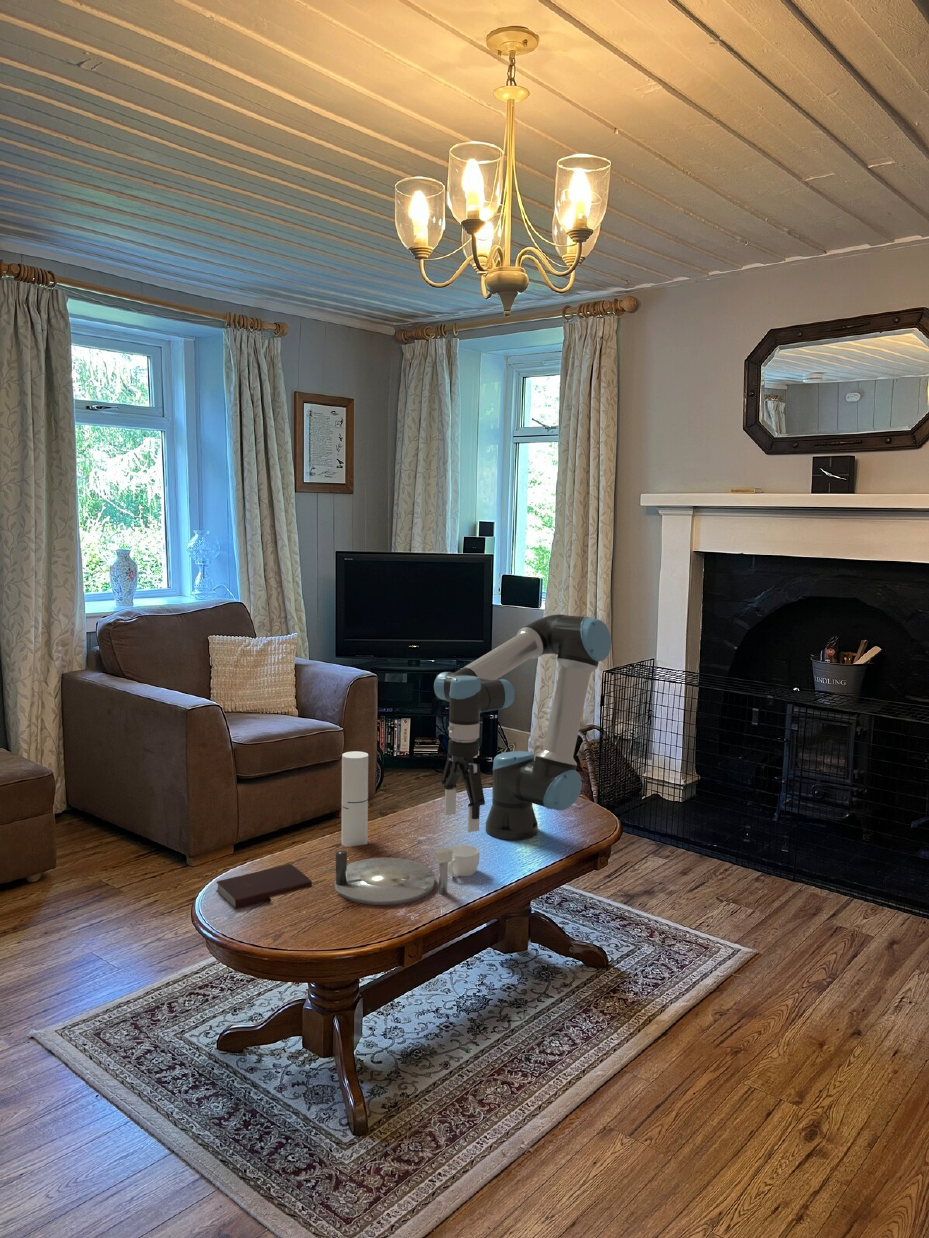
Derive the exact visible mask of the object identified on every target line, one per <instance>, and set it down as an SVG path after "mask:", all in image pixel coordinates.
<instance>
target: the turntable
mask: <svg viewBox="0 0 929 1238" xmlns="http://www.w3.org/2000/svg"><path fill="white" fill-rule="evenodd" d="M334 888H335V891H336V892H337V894H339V896H341V897H343V898H344V899H347V900H349V901H351V902H355V903H357V904H358V903H359V904H364V905H370V906H394V905H395V906H396V905H402V904H406V903H407V904H408V903H411V902H415V901H417V900H420V899H422V898H424V897H426V896H427V895H429V894H430V893H431V892H432V891H433V889H434V888H435V873H434V871H433V869H431V868H430V867H429V866H427V865H426V864H424V863H421V862H419V861H416V860H412V859H407V858H402V857H371V858H366V859H365V858H364V859H360V860H356V861H354V862H351V863H349V864H348V851H346V850H337V851H336V852H335V876H334Z"/></svg>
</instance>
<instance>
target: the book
mask: <svg viewBox="0 0 929 1238" xmlns="http://www.w3.org/2000/svg"><path fill="white" fill-rule="evenodd" d="M215 883H216V884H217V889H216V890H215V892H216V893H219V894H220V895H221V896H222V897H223V898H224V899H225V900H226V901H228V902H229V903H230V904H231V905H232V906H233V907H234V909H235V910H238V909H242V908H245V907H249V906H253V905H256V904H261V903H265V902H269V901H272V899H271V896H275V895H279V894H284V893H287V892H291V891H296V890H299V889H303V888H307V887H311V886H313V882H312V880H311V879H310V878H309V877H308V876H307V875H306V874H304V873H303V872H302V871H301V870H299V869H298V868H297V867H296V866H294V865H293V864H290V863H289V864H282V865H278V866H275V867H270V868H268V869H263V870H259V871H255V872H251V873H246V874H243V875H238V876H234V877H233V876H232V877H229V878H225V879H220V880H217V881H216V882H215Z"/></svg>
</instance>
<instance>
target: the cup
mask: <svg viewBox="0 0 929 1238" xmlns="http://www.w3.org/2000/svg"><path fill="white" fill-rule="evenodd" d="M450 849H451V850H452V862H448V873H449V875H450V876H451V877H453V878H458V877H471V876H473V875H474V874H475V873H476V871H477V870H478V867H479V863H480V850H479V849H480V848H477V847H476V846H473V845H472V846H471V845H466V844H461V845H460V844H459V845H455V846H452V847H450Z"/></svg>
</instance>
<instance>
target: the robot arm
mask: <svg viewBox="0 0 929 1238" xmlns="http://www.w3.org/2000/svg"><path fill="white" fill-rule="evenodd" d="M611 647H612V636H611V633H610V631H609V627H608V626H607V624H606V623H605V622H604V621H603V620H601V619H598V618H593V617H589V616H577V615H568V614H567V615H566V614H551V615H546V616H545V617H541V618H538V619H537V620H534V621H532V622H531V623H528V624H527V625H524V626H523V627H522V628H520V629H519V630H518V631H517V633H516V635H515V636H513V637H511V638H510V639H509V640H506V641H505V642H504V643H502V644H500V645H499V646H497V647H496V648H493V649H492V650H490V651H489V652H487V653H486V654H483V655H482V656H480V657H479V658H477V659H476V660H474V661H472V662H470V663H468V664H467V665H465V666H464V667H462V668H460V669H459V670H456V671H455V672H451V671H444V672H440V673H439V674H438V675H437V676H436V678H435V680H434V683H433V689H434V694H435V696H436V697H437V698H438V699H440V700H443V701H446V702H449V716H448V717H449V721H448V723H449V725H448V727H447V730H448V737H449V740H448V749H447V750H448V751H447V754H446V762H445V766H444V769H443V773H442V776H441V779H440V780H441V782H440V783H441V785H443V787H444V791H445V792H444V815H445V816H450V815H456V808H457V807H456V806H457V783H458V781H459V779H461V781H462V782H464V786H465V790H466V794H467V797H468V800H469V802H468V804H467V807H468V811H467V832H468V833H471V832H479V831H480V814H481V813H480V810H481V806H484V805H486V801H485V795H484V789H483V783H482V778H481V766H480V763H474V757H476V756H478V755H479V752H480V751H479V749H480V747H479V746H480V740H478V739H479V738H480V725H481V724H480V723H481V722H480V719H481V716H480V715H481V714H482V713H485V712H491V711H497V710H498V711H501V710H502V709H505V708H509V707H510V706H511V705H512V704H513V703H514V701H515V692H516V691H515V688H514V686H513V684H512V683H511V682H510V681H509V680H508V679H505V678H502V679H500V678H501V677H503V676H504V675H506V674H507V673H509V672H511V671H512V670H513V669H516V668H517V667H518V666H520V665H523V663H525V662H526V661H528V660H530V659H538V658H539V657H541V656H544V655H557V656H556V661H557V662H558V664H559V667H560V669H559V675H558V679H557V683H556V687H555V692H554V697H553V702H552V705H551V711H550V716H549V721H548V725H547V729H546V734H545V739H544V742H543V748H542V750H541V751H540V752H537V753H536V755H535V754H534V753H533V752H531V751H525V750H519V751H518V750H515V751H506V752H502V753H499V754H497V755H496V756H495V757H494V759H493V766H492V789H491V791H492V800H491V801H492V802H491V803H492V804H491V806H490V810H489V812H488V815H487V818H486V821H485V833H486V834H488V835H489V836H492V837H494V838H497V839H500V840H501V839H503V840H508V841H509V840H510V841H517V840H519V841H520V840H527V839H531V838H534V837H535V836H537V835H538V832H539V824H538V820H537V817H536V814H535V810H534V806H533V805H537V806H540V807H544V808H546V809H548V810H555V811H560V812H561V811H566V810H568V809H570V808H571V807H572V805H574V804H575V802H577V800H578V798H579V795H581V791H582V787H583V782H582V776H581V775H580V773H579V772H578V771H577V767H578V763H577V762H576V760H575V759H574V755H575V751H576V750H575V749H576V745H577V741H578V740H577V739H578V735H579V730H580V725H581V720H582V718H583V717H582V716H583V712H584V708H585V702H586V697H587V692H588V688H589V684H590V683H589V682H590V678H591V674H592V673H593V672H594V671H596V670H597V669H598V668H599V667H598V666H599V662H602V661H604V660H606V659H607V657H608V656H609V654H610V652H611Z"/></svg>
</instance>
